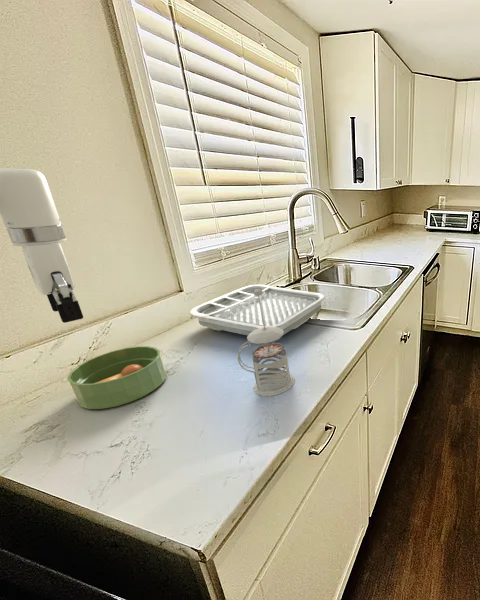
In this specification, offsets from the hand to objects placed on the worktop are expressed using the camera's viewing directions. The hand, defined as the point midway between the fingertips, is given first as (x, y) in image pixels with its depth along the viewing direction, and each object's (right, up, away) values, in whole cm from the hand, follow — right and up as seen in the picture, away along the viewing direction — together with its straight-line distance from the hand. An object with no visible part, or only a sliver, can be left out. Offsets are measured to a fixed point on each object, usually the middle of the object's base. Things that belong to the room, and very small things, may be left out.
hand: (68, 314), depth 70 cm
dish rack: (+24, -5, +45) cm, 51 cm away
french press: (+40, -18, +11) cm, 45 cm away
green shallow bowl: (+4, -19, +10) cm, 21 cm away
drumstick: (+3, -18, +9) cm, 21 cm away
